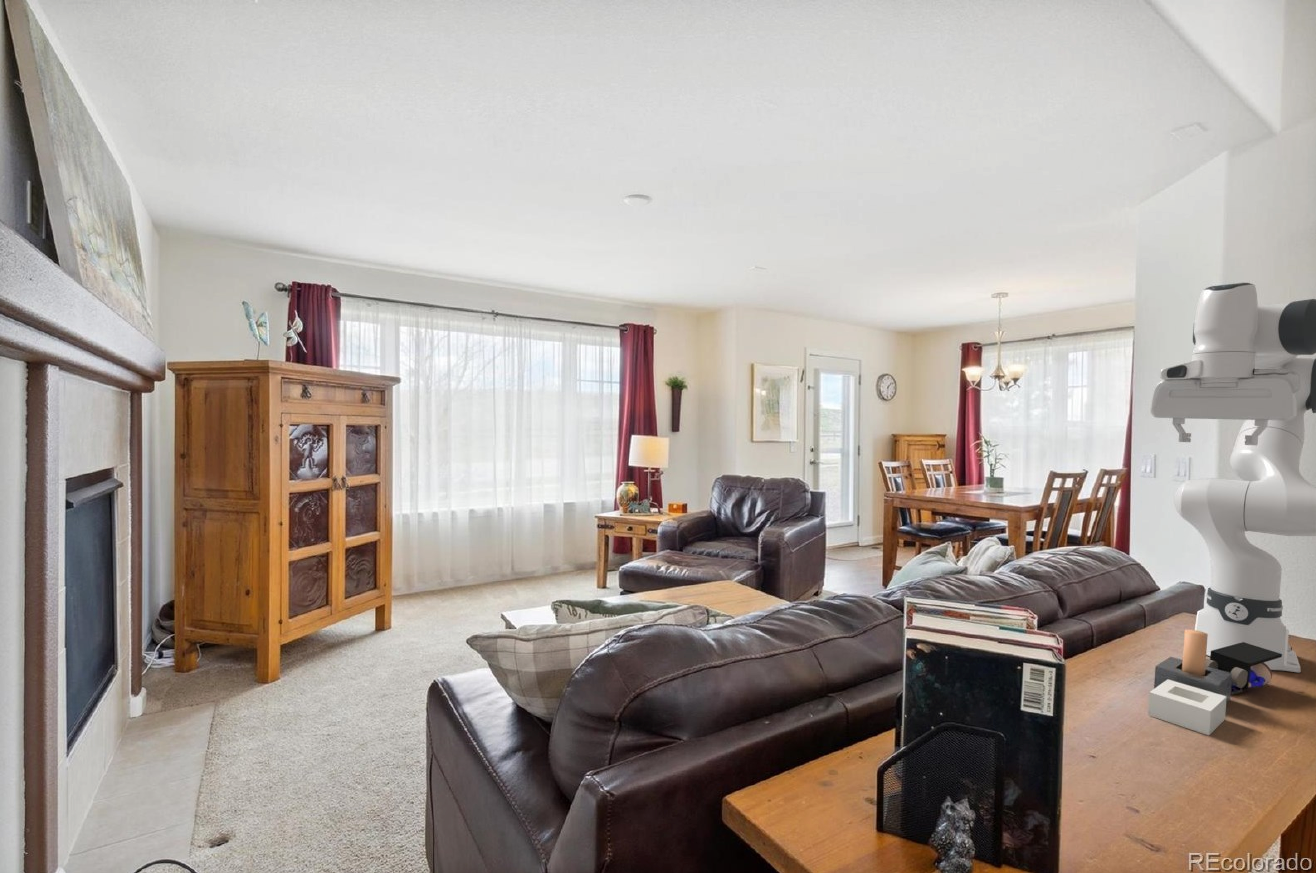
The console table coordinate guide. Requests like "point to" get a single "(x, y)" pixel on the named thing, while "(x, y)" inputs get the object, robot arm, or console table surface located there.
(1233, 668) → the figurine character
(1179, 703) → the socket block
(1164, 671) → the block
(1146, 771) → the console table surface
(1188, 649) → the pin
